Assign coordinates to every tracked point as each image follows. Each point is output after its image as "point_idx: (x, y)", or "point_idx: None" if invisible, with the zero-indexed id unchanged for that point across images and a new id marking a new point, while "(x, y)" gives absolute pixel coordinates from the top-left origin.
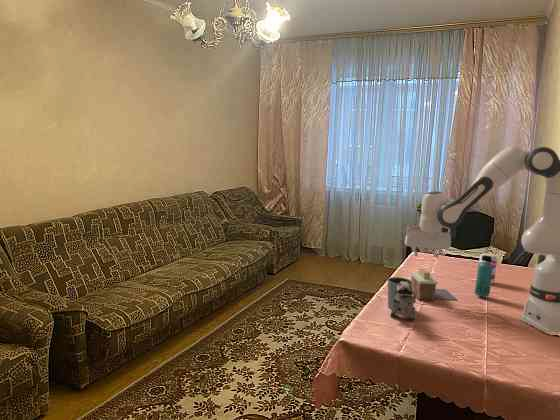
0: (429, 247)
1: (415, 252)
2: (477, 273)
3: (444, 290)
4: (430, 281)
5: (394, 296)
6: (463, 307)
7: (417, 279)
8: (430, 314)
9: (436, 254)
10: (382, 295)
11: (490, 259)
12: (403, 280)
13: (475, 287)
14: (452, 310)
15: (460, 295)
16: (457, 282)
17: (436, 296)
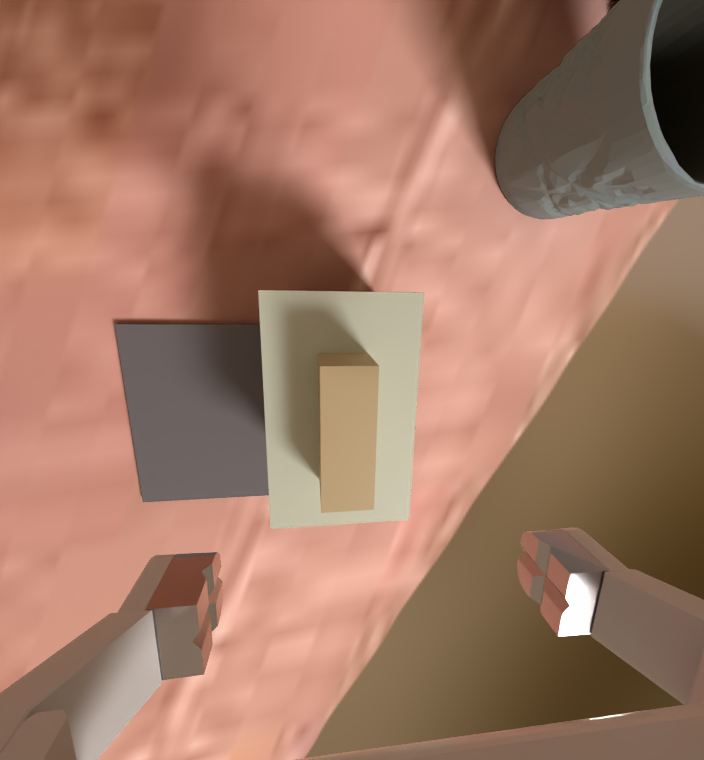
0: (405, 745)
1: (625, 570)
2: None
3: (155, 480)
4: (328, 291)
5: (687, 49)
6: (111, 192)
7: (417, 357)
8: (393, 37)
9: (178, 592)
10: (555, 353)
11: None
12: (654, 157)
13: None
14: (212, 125)
15: (67, 421)
16: (23, 640)
17: (244, 365)
